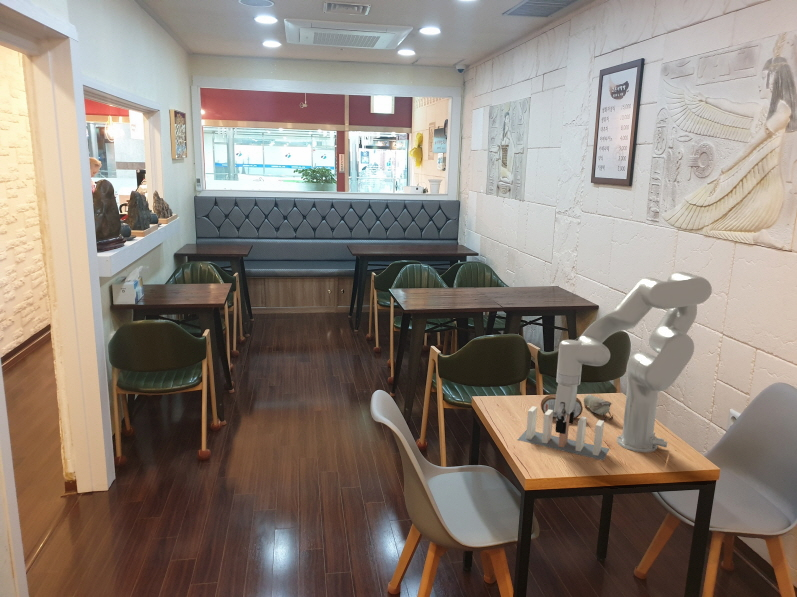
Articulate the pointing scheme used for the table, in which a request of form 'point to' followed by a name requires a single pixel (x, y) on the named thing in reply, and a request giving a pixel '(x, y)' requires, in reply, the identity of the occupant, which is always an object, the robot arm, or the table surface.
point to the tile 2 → (547, 426)
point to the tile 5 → (598, 437)
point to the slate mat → (569, 446)
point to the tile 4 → (581, 433)
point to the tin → (550, 404)
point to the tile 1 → (531, 422)
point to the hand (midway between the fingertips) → (564, 427)
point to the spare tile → (564, 437)
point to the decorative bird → (597, 405)
